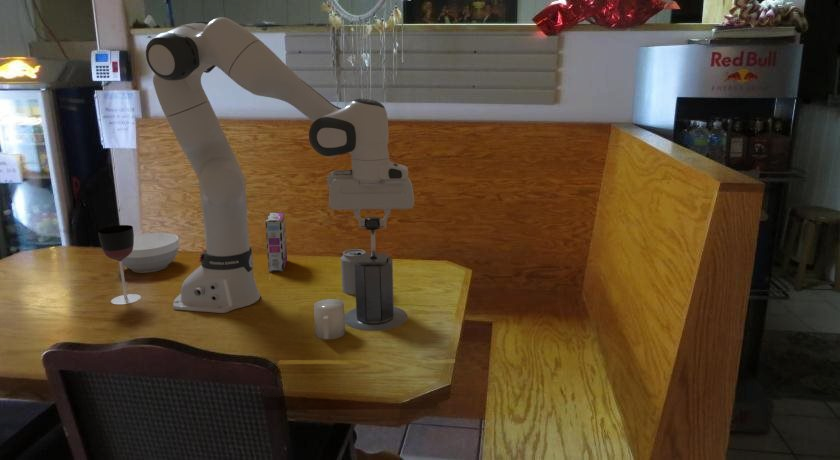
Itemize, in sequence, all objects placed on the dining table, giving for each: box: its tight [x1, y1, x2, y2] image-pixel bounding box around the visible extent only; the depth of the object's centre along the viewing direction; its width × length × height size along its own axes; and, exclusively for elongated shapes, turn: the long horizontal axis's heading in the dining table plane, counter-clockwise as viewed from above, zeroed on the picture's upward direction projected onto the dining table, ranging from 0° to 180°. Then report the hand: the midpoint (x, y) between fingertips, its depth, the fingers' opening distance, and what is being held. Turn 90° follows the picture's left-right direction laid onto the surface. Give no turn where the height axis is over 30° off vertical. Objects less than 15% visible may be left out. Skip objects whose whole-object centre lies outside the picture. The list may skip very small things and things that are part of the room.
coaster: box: [344, 306, 408, 332], centre depth 154 cm, size 16×16×1 cm
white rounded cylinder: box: [313, 298, 346, 340], centre depth 144 cm, size 7×9×8 cm
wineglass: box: [97, 224, 142, 305], centre depth 167 cm, size 8×9×20 cm
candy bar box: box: [265, 212, 288, 273], centre depth 193 cm, size 11×5×16 cm, turn 6°
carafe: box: [355, 253, 395, 325], centre depth 153 cm, size 9×12×16 cm
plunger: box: [364, 216, 381, 266], centre depth 149 cm, size 6×6×13 cm
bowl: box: [122, 232, 180, 274], centre depth 194 cm, size 19×19×9 cm
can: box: [340, 248, 367, 296], centre depth 171 cm, size 8×8×12 cm
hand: (372, 226), depth 148 cm, fingers closed on plunger, 4 cm apart
